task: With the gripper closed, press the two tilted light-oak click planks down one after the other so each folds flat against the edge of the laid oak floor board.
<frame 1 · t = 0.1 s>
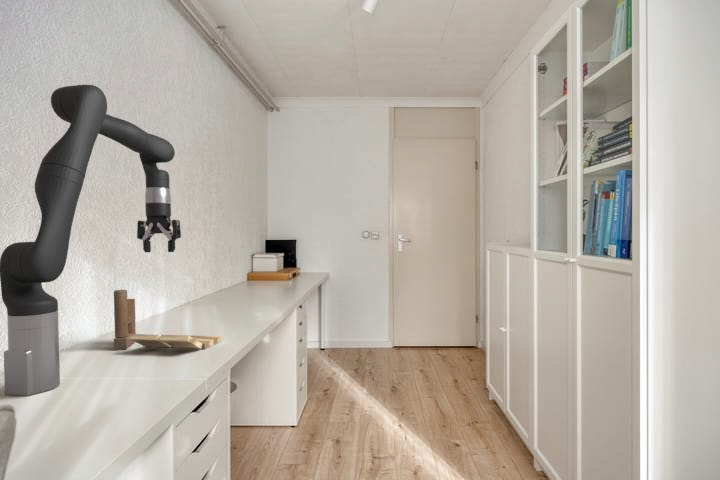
hand: (159, 252, 143), 29 cm above the table, fingers open, 8 cm apart
plank b: (151, 340, 131), point 3 cm above the table, hinge at 30.0°
laid floor: (184, 344, 139), on the table
wooden block: (125, 346, 139), on the table
plank a: (181, 341, 129), point 3 cm above the table, hinge at 30.0°
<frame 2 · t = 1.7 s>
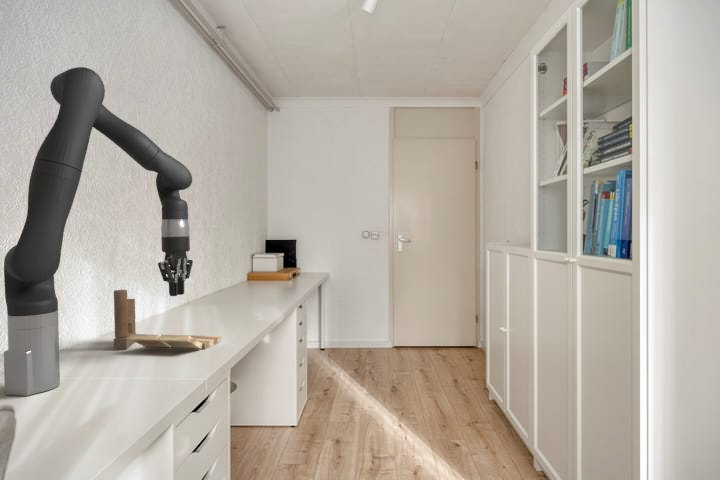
hand: (177, 294, 127), 17 cm above the table, fingers closed
nothing on the table moved.
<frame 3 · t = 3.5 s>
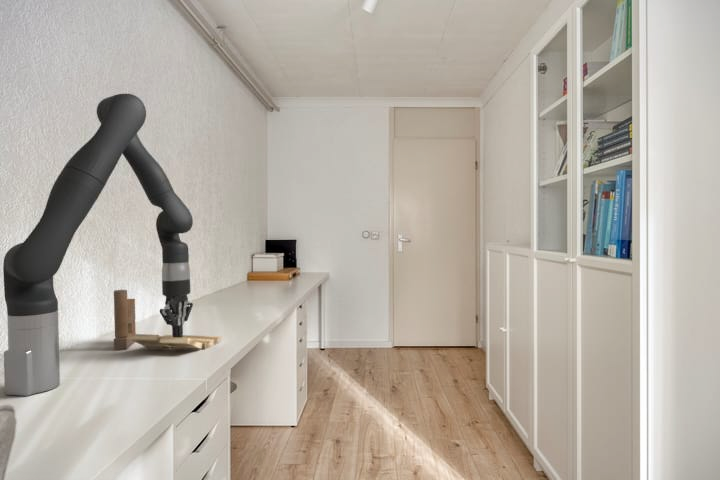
hand: (177, 338, 127), 5 cm above the table, fingers closed
plank a: (181, 343, 129), point 3 cm above the table, hinge at 25.3°, touching gripper
everything else where it was.
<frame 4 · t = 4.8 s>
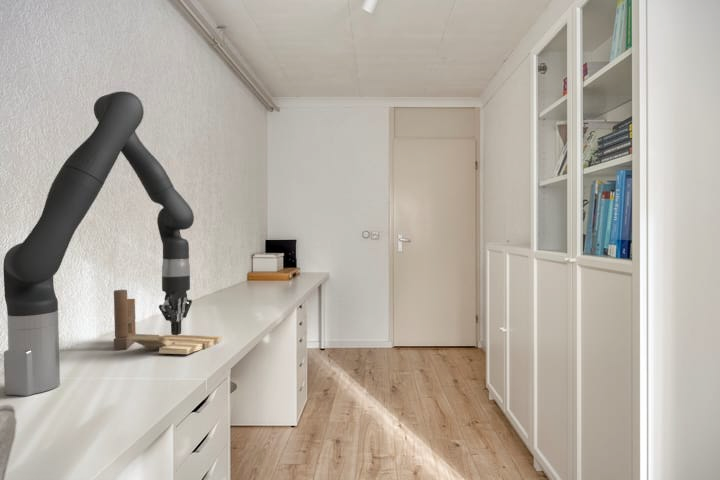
hand: (176, 334, 127), 6 cm above the table, fingers closed
plank a: (181, 348, 129), point 1 cm above the table, hinge at 3.6°
everything else where it was.
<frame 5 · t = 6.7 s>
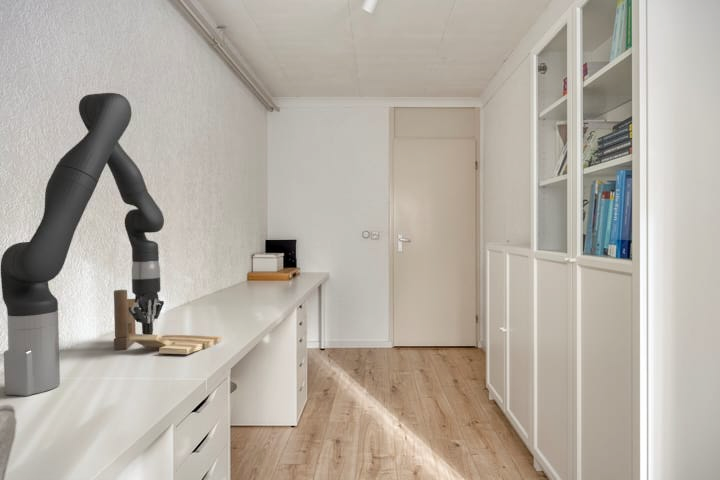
hand: (147, 335, 130), 5 cm above the table, fingers closed
plank b: (151, 340, 131), point 3 cm above the table, hinge at 29.9°, touching gripper
everything else where it was.
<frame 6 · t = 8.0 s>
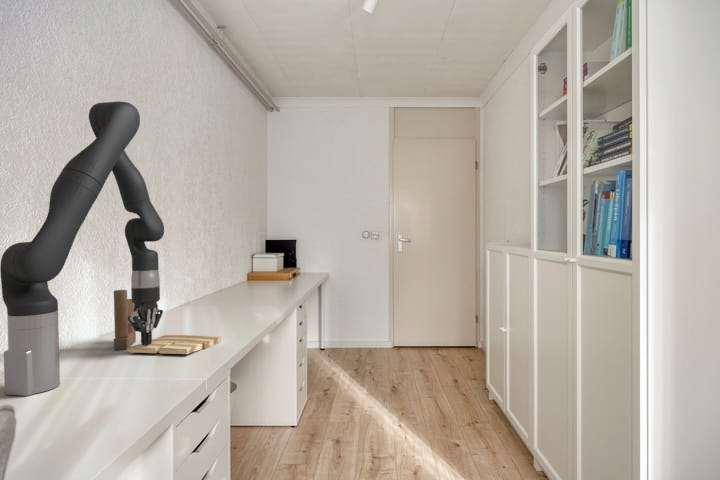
hand: (146, 344, 129), 2 cm above the table, fingers closed
plank b: (151, 347, 131), point 1 cm above the table, hinge at 3.3°
everything else where it was.
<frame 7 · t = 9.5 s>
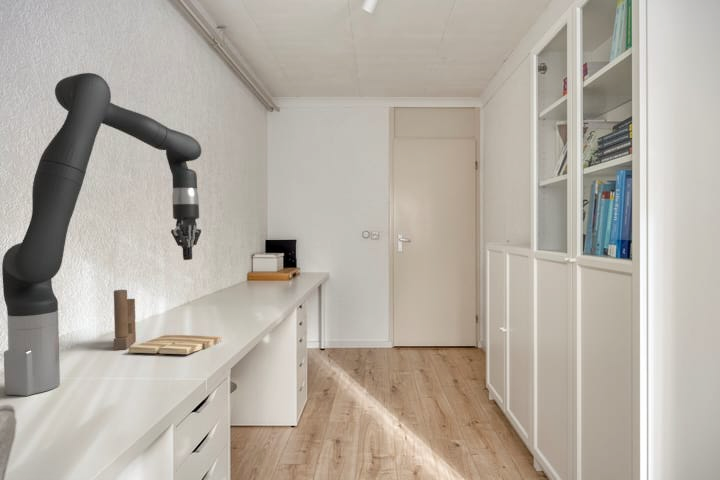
hand: (187, 259, 136), 27 cm above the table, fingers closed
nothing on the table moved.
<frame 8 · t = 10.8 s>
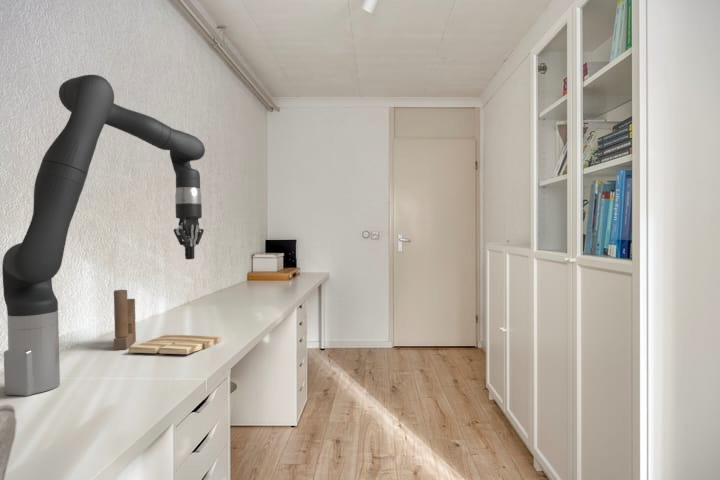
hand: (190, 259, 136), 27 cm above the table, fingers closed
nothing on the table moved.
at the end: plank a at +4° (first picture: +30°); plank b at +3° (first picture: +30°) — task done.
